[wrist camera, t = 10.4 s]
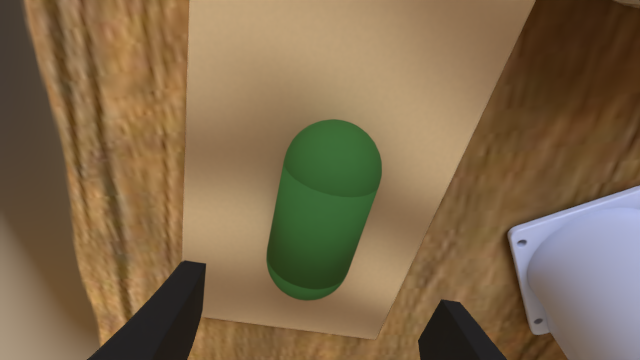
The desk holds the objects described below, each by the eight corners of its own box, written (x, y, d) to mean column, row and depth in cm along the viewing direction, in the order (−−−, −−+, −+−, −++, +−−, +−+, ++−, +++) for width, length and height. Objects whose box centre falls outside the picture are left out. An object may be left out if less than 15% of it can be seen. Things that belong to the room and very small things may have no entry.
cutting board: (373, 324, 23) (376, 340, 22) (186, 298, 22) (179, 314, 21) (527, -18, 13) (545, -17, 12) (202, -106, 12) (191, -113, 11)
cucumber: (331, 259, 19) (346, 320, 16) (260, 255, 18) (261, 318, 15) (378, 112, 15) (411, 155, 12) (289, 97, 14) (298, 139, 11)
